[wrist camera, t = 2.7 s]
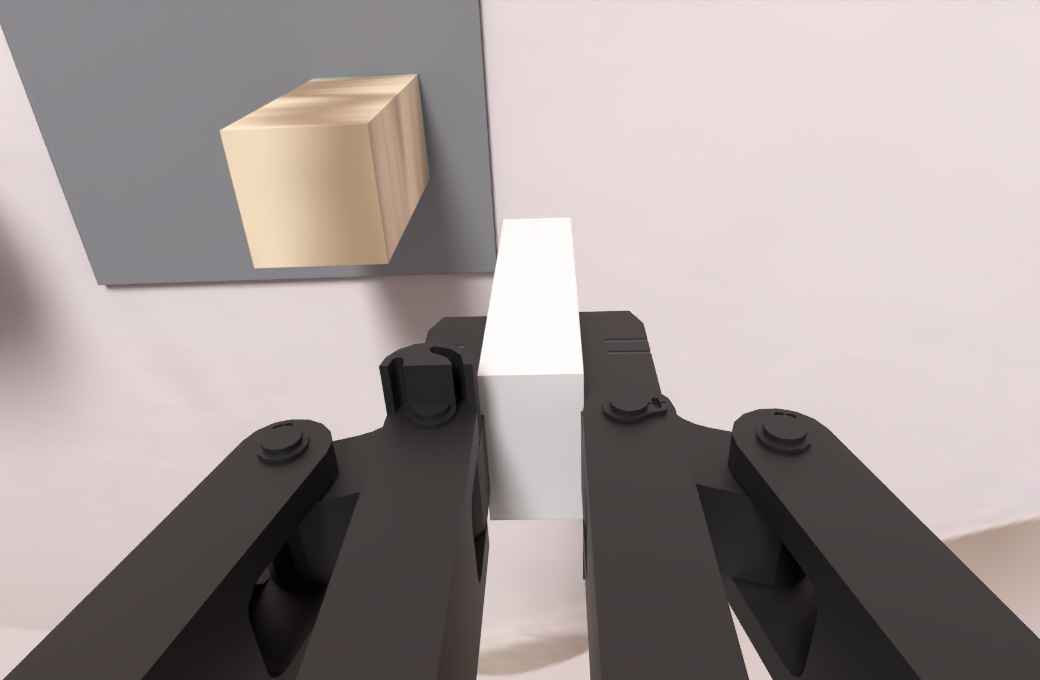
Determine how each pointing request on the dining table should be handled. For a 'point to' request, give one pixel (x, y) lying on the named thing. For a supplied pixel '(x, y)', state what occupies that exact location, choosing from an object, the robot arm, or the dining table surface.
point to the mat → (224, 100)
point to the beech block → (330, 171)
